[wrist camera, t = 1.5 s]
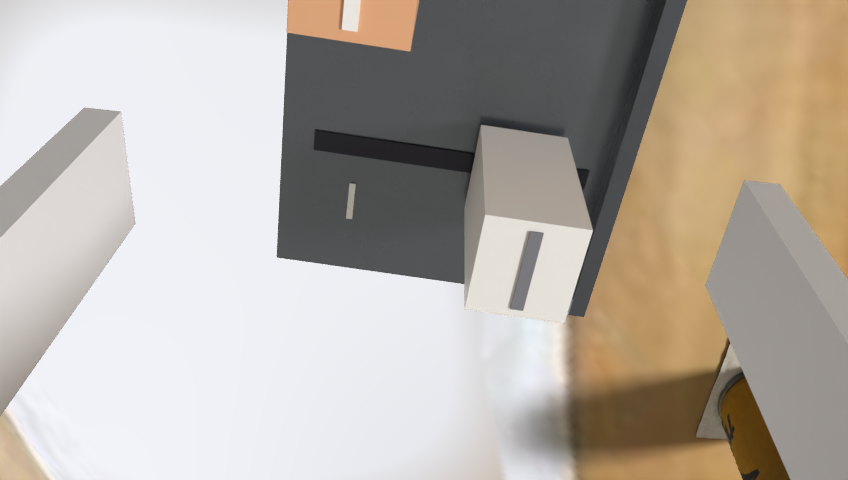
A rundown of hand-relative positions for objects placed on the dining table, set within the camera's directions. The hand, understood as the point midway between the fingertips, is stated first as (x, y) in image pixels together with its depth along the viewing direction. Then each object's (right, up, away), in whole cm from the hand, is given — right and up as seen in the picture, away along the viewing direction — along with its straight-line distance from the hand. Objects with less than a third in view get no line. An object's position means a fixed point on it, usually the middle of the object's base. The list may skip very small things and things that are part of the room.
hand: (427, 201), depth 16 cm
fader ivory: (+4, +2, +19) cm, 20 cm away
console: (+2, +8, +18) cm, 19 cm away
